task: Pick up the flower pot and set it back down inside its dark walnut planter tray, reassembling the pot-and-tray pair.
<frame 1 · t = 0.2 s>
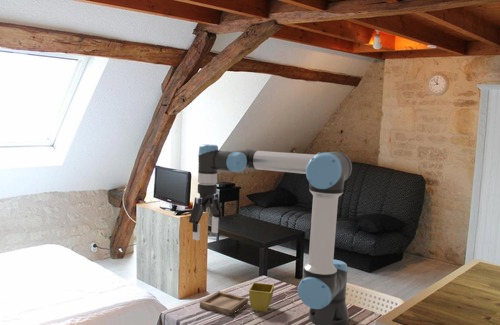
hand: (205, 236, 187), 27 cm above the table, fingers open, 13 cm apart
walnut tray: (224, 305, 187), on the table
flower pot: (260, 309, 185), on the table
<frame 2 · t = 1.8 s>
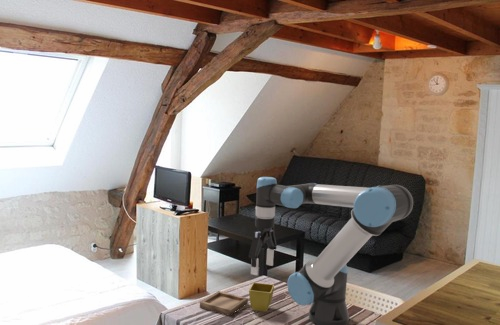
hand: (262, 269, 184), 16 cm above the table, fingers open, 13 cm apart
nothing on the table moved.
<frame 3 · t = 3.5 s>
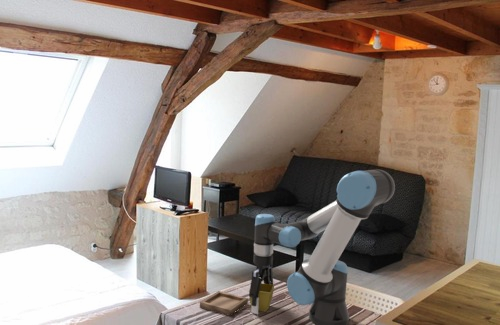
hand: (260, 308, 185), 0 cm above the table, fingers closed on flower pot, 9 cm apart
flower pot: (260, 309, 185), on the table, touching gripper
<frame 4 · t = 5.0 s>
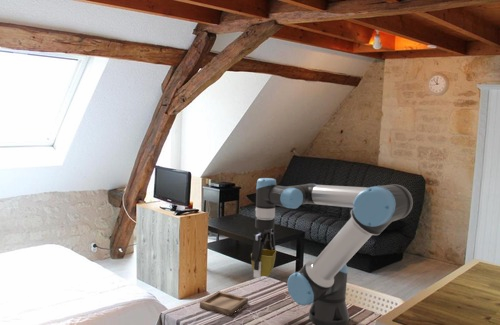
hand: (262, 273, 184), 14 cm above the table, fingers closed on flower pot, 9 cm apart
flower pot: (263, 275, 184), point 14 cm above the table, touching gripper
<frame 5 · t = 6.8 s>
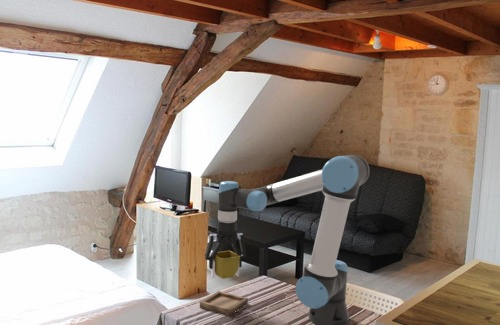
hand: (225, 275, 186), 12 cm above the table, fingers closed on flower pot, 9 cm apart
flower pot: (224, 276, 186), point 12 cm above the table, touching gripper
when the fingers open (3 cm above the table, at t = 9.2 s): flower pot drops 2 cm, resting on walnut tray.
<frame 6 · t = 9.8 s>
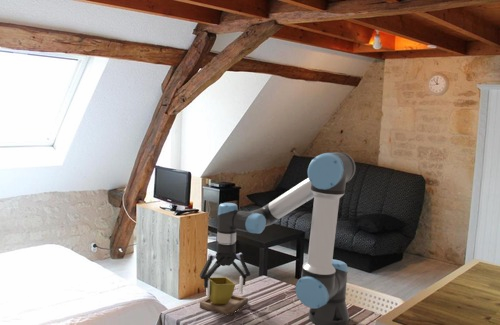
hand: (224, 294, 187), 5 cm above the table, fingers open, 13 cm apart
flower pot: (217, 303, 186), point 1 cm above the table, touching gripper, walnut tray
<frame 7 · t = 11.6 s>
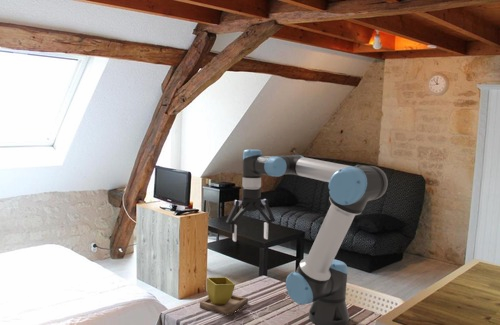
hand: (250, 239, 190), 26 cm above the table, fingers open, 13 cm apart
flower pot: (217, 303, 186), point 1 cm above the table, touching walnut tray
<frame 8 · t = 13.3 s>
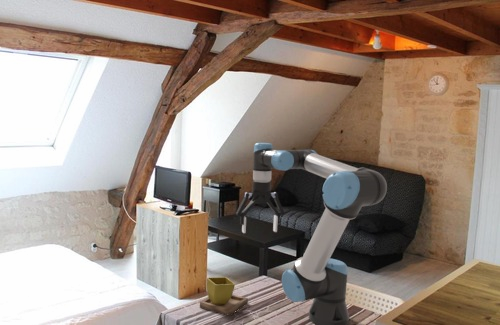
hand: (259, 231, 192), 29 cm above the table, fingers open, 13 cm apart
nothing on the table moved.
at the end: flower pot inside the target area on the walnut tray (2.7 cm from its centre), point 1.2 cm above the walnut tray's base; flower pot tilted 7°; the gripper is holding nothing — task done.
